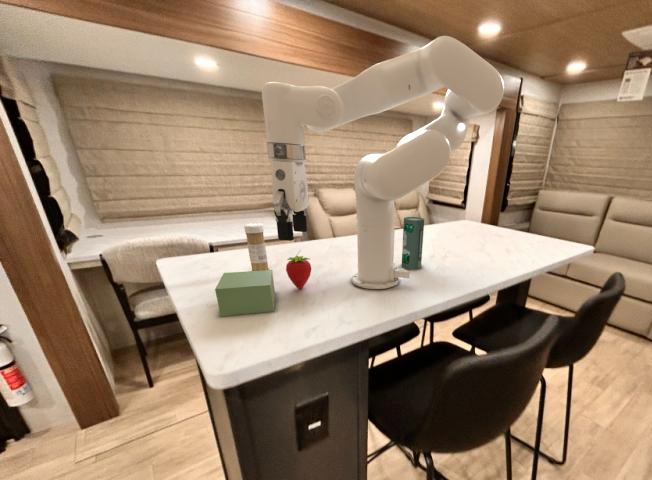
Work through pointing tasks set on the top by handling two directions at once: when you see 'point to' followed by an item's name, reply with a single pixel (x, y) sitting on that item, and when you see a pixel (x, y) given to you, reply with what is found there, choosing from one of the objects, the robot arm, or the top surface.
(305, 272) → the strawberry
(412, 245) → the can
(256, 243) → the sprinkles bottle
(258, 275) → the green block
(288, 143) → the robot arm
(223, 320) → the top surface
